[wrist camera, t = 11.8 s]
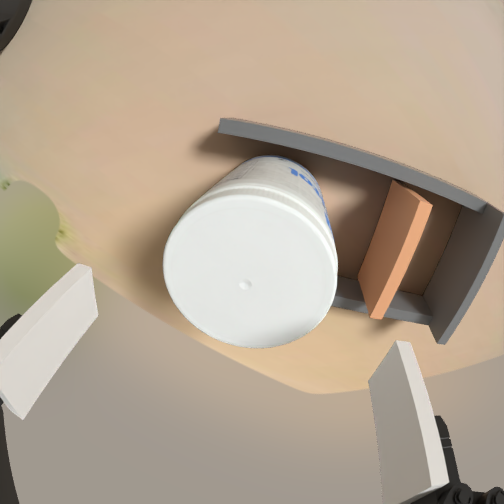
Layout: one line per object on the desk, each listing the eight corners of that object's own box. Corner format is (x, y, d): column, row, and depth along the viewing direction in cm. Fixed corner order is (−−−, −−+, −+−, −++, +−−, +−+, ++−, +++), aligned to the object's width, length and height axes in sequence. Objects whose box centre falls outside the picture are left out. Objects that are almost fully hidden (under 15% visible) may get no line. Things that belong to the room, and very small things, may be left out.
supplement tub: (341, 208, 27) (378, 297, 14) (269, 264, 31) (248, 373, 18) (273, 131, 25) (247, 148, 12) (202, 198, 29) (129, 272, 16)
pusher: (357, 276, 30) (369, 317, 24) (392, 179, 25) (420, 200, 19) (390, 284, 30) (408, 324, 23) (427, 192, 25) (461, 216, 18)
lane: (208, 254, 31) (187, 291, 25) (231, 117, 25) (209, 118, 19) (425, 305, 30) (445, 344, 24) (475, 194, 24) (511, 217, 18)
